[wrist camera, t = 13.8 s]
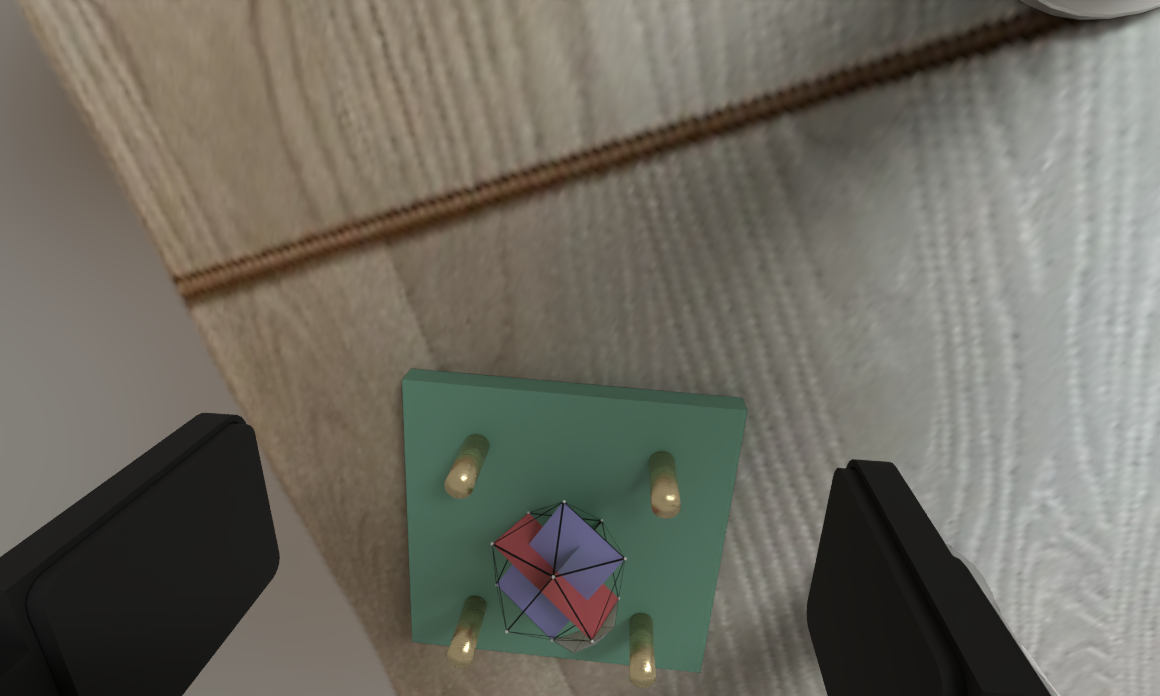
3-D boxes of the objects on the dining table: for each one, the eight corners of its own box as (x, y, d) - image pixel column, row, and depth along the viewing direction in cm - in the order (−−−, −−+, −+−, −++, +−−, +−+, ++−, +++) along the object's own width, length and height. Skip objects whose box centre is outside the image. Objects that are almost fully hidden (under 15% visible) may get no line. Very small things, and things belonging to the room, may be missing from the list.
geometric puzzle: (443, 551, 34) (496, 695, 29) (509, 463, 32) (579, 601, 27) (542, 551, 39) (602, 674, 34) (605, 474, 37) (680, 594, 32)
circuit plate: (742, 398, 34) (747, 410, 32) (697, 653, 40) (700, 672, 39) (411, 368, 35) (402, 379, 33) (419, 623, 41) (412, 642, 40)
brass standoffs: (676, 452, 34) (682, 495, 30) (651, 632, 38) (654, 689, 34) (464, 432, 34) (444, 472, 30) (464, 612, 38) (446, 666, 35)
